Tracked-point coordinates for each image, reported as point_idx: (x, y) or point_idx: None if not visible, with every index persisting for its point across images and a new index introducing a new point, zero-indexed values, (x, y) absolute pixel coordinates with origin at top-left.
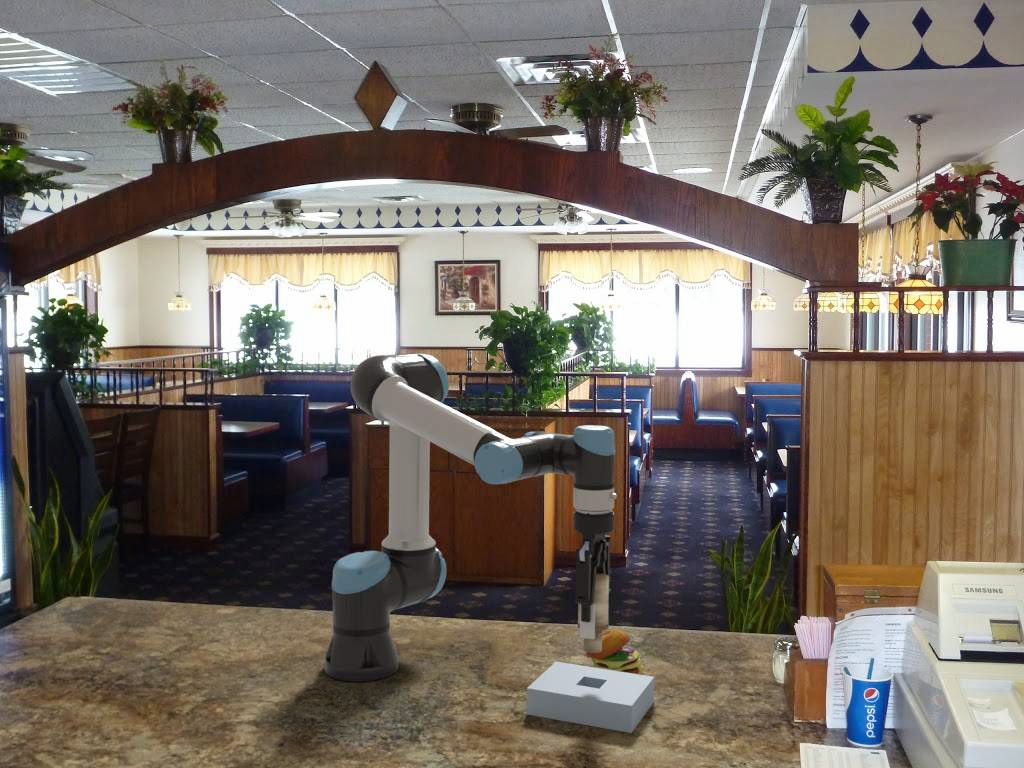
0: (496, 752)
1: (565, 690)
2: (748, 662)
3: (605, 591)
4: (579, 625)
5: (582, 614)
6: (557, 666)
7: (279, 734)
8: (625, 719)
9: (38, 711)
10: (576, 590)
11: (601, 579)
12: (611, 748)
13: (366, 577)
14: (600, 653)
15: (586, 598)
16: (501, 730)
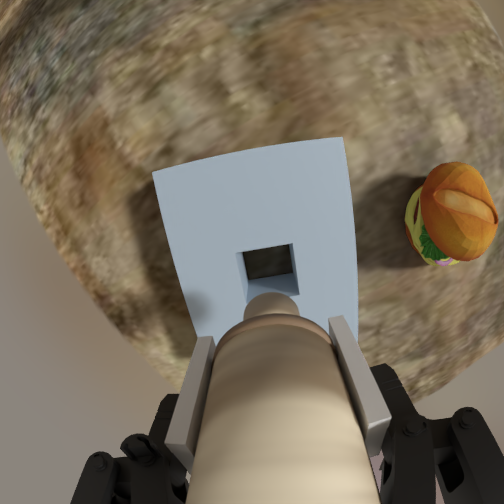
0: (55, 219)
1: (191, 250)
2: (490, 341)
3: None
4: (219, 346)
5: (158, 420)
6: (315, 156)
7: (13, 23)
8: None
9: None
10: (76, 497)
11: None
12: (158, 340)
13: None
14: (426, 213)
15: (114, 495)
16: (100, 177)
